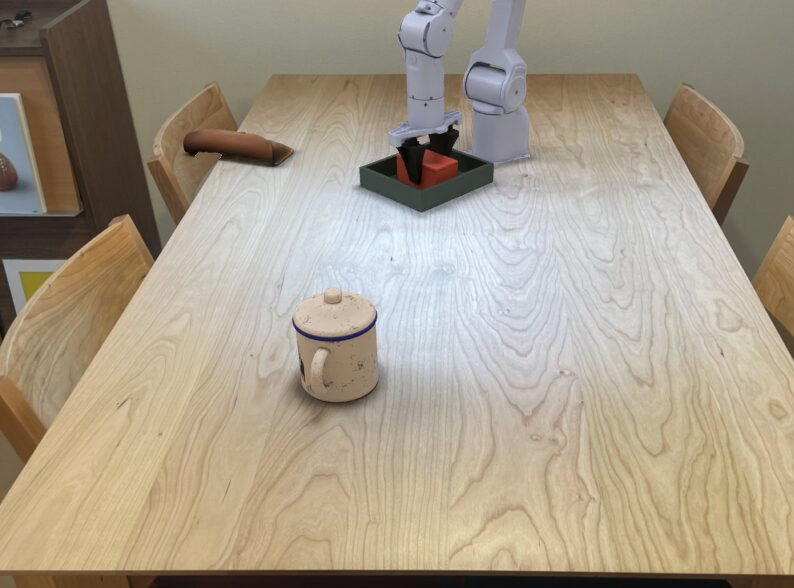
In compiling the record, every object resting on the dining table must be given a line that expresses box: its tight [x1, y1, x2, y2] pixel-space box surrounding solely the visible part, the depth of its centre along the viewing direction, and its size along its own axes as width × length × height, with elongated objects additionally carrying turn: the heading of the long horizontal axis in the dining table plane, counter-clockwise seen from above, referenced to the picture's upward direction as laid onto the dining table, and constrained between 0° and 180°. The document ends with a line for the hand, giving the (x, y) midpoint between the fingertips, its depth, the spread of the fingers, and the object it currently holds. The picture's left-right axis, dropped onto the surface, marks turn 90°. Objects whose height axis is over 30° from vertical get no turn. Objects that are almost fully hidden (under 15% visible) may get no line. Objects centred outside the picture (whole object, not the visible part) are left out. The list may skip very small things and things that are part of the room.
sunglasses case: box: [182, 128, 294, 166], centre depth 155 cm, size 18×7×7 cm
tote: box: [358, 141, 495, 213], centre depth 143 cm, size 16×14×4 cm
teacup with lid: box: [291, 287, 380, 403], centre depth 95 cm, size 12×9×12 cm
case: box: [396, 149, 458, 190], centre depth 142 cm, size 5×9×4 cm, turn 46°
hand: (427, 177), depth 143 cm, fingers closed on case, 5 cm apart
